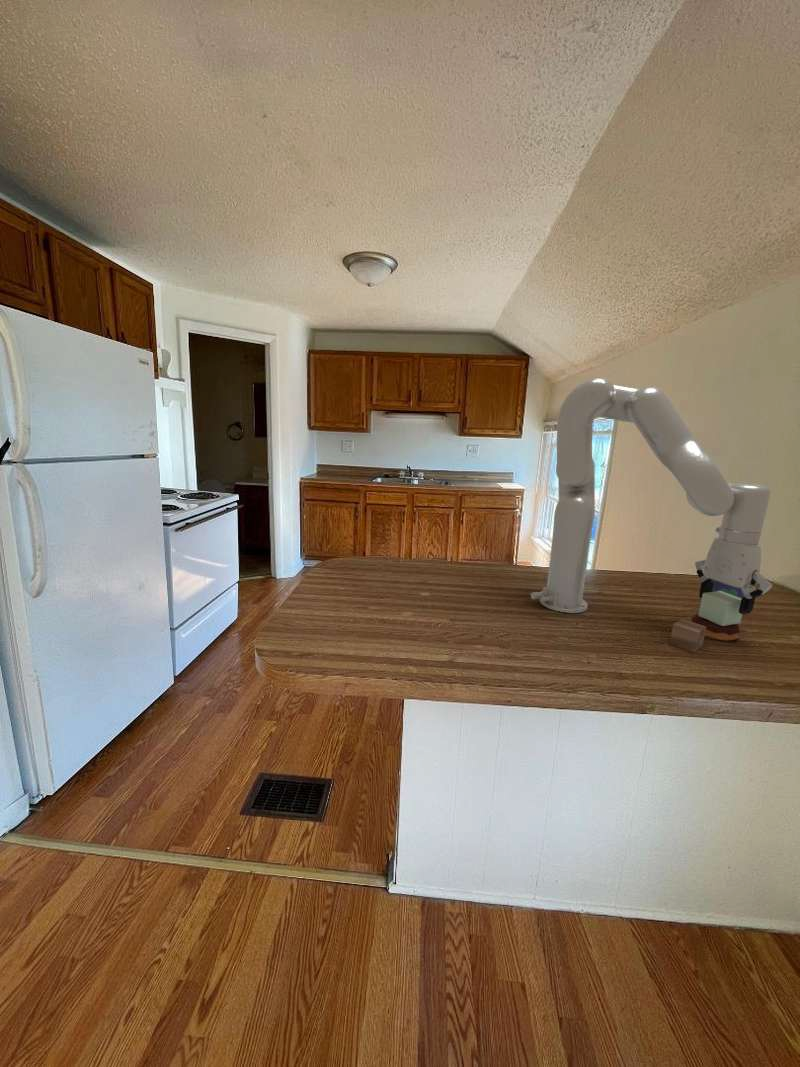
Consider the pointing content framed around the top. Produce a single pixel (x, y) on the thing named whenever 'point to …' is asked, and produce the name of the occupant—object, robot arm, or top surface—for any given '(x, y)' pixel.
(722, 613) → the sage block
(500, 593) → the top surface
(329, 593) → the top surface
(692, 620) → the donut
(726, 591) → the flask
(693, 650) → the walnut block
